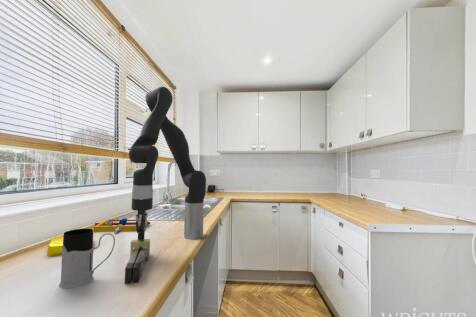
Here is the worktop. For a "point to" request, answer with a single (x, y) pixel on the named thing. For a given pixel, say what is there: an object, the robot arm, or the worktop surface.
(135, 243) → the tan framed block
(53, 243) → the element tile
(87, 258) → the glass holder
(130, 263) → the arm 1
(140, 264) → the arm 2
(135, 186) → the robot arm
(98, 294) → the worktop surface
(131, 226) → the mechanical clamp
